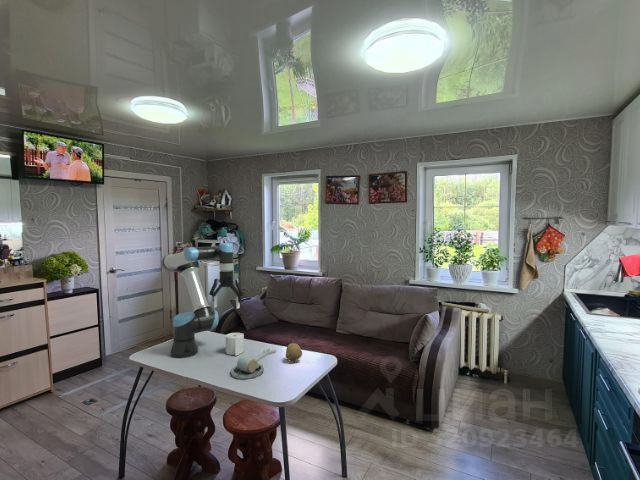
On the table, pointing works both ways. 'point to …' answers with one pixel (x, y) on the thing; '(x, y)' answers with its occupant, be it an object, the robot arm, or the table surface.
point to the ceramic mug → (247, 364)
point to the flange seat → (244, 375)
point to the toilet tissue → (234, 343)
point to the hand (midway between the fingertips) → (226, 307)
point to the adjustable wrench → (265, 354)
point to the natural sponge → (293, 352)
